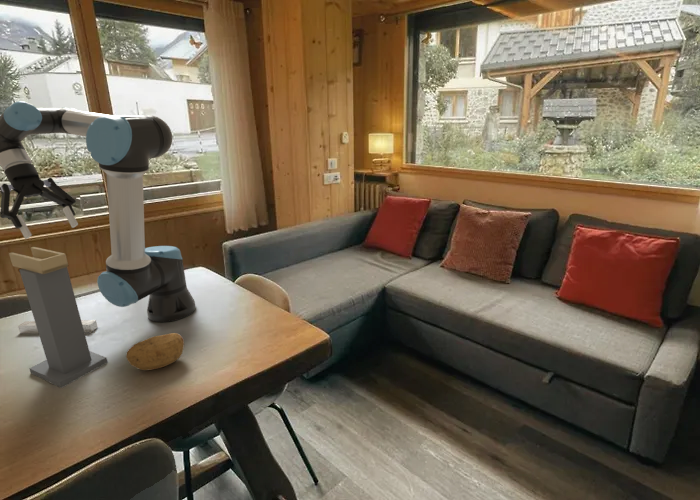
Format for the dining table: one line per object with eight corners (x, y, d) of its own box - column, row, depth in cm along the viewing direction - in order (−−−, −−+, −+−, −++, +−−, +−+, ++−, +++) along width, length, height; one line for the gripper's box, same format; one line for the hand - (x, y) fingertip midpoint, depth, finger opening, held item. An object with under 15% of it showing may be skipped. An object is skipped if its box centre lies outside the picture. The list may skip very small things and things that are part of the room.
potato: (129, 364, 110) (123, 338, 108) (184, 349, 117) (179, 324, 114) (130, 384, 102) (124, 356, 100) (189, 366, 109) (185, 340, 106)
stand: (107, 362, 111) (79, 249, 101) (61, 387, 101) (24, 265, 91) (77, 350, 118) (47, 243, 107) (30, 373, 108) (-7, 257, 97)
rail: (98, 328, 131) (95, 320, 130) (92, 333, 128) (90, 324, 127) (27, 329, 131) (25, 321, 130) (20, 334, 128) (17, 325, 127)
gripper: (55, 168, 135) (86, 226, 137) (-38, 178, 114) (1, 246, 116) (66, 158, 132) (97, 218, 134) (-28, 166, 110) (11, 237, 112)
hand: (53, 231), depth 125 cm, fingers open, 13 cm apart
